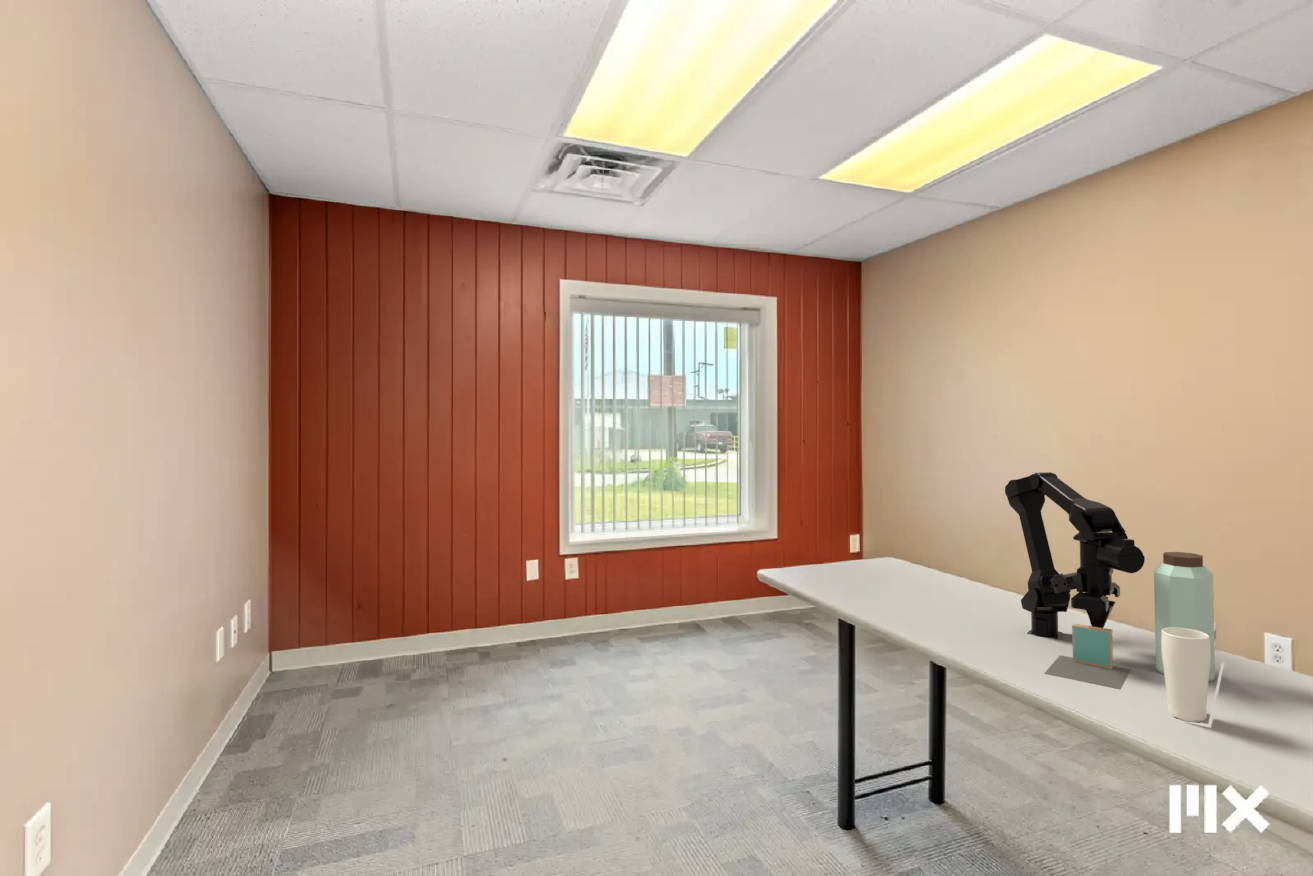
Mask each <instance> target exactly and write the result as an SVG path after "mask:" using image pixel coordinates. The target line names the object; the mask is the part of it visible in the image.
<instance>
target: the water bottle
mask: <svg viewBox="0 0 1313 876" xmlns="http://www.w3.org/2000/svg"><path fill="white" fill-rule="evenodd" d="M1162 556H1163V557H1162V559H1163V561H1162V563H1160V564H1159V565H1158V566H1156V568H1155V569H1154V571H1153V587H1154V589H1153V590H1154V591H1153V592H1154V594H1153V595H1154V637H1155V641H1154V642H1155V646H1154V647H1155V669H1156V671H1158V673H1161V674H1163V675H1164V669H1163V661H1162V652H1161V631H1162V629H1164V628H1170V627H1175V628H1186V629H1192V630H1197V631H1200V632H1203V633H1206V634H1207V635H1209V637H1210V650H1211V660H1210V673H1209V682H1213V681H1214V680H1215V679H1216V678H1215V677H1216V662H1215V661H1216V659H1215V657H1216V656H1215V653H1216V652H1215V648H1216V647H1215V613H1214V612H1215V610H1214V609H1215V608H1214V604H1215V603H1214V602H1215V601H1214V600H1215V599H1214V594H1215V593H1214V574H1213V573H1212V572H1211V571H1210V570H1209V569H1208V568H1207V567H1206V566H1205V565H1204V556H1203V555H1202V554H1197V553H1192V552H1183V551H1182V552H1181V551H1165V552H1164V551H1163V554H1162Z"/></svg>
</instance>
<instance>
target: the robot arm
mask: <svg viewBox="0 0 1313 876" xmlns="http://www.w3.org/2000/svg"><path fill="white" fill-rule="evenodd" d="M1004 493H1005V496H1006V497H1007V501H1008V505H1009V506H1010V508H1012V509H1013V510H1014V511H1015V513H1017V515H1018V516H1019V519H1020V520H1019V521H1020V525H1021V529H1022V533H1023V537H1024V541H1025V547H1026V550H1027V555H1028V559H1029V564H1030V568H1031V573H1030V576H1029V578H1028V581H1027V589H1028V591H1027V592H1026V593H1025V595H1023V596H1022V598H1021V599H1020V603H1021V607H1022V609H1023V610H1025V611H1027V612H1029V613H1030V619H1031V621H1030V622H1031V629H1030V630H1029V631H1027V633H1026V634H1027V635H1032V636H1036V637H1043V638H1049V639H1055V640H1056V639H1058V638H1059V637H1060V636H1061V635H1062V634H1063V632H1062V631H1059V613H1067V612H1068V607H1069V604H1070V605H1071V606H1070V607H1071V608H1073V609H1077V610H1084V611H1086V613H1087V616H1088V619H1089V623H1090V626H1093V627H1100V628H1104V627H1105V625H1106V623H1107V620H1108V619H1109V618H1110V615H1111V613H1112V611H1113V608H1114V607H1115V604H1116V601H1114V600H1109V597H1108V596H1111V595H1114V597H1115V598H1119V597H1120V596H1121V587H1120V585H1118V584H1117V582H1113V578H1112V577H1113V576H1112V575H1113V574H1114V570H1117V571H1120V572H1123V573H1127V574H1135V573H1137V572H1139V571H1140V570H1141V569H1142V568H1143V567H1144V564H1145V561H1146V558H1145V555H1144V553H1143V551H1142V549H1140V547H1137V546H1136V545H1135V539H1130V538H1129V537H1128V535H1127V533H1126V532H1127V531H1126V530H1125V528H1124V527H1123V526H1122V524H1121V522H1120V520H1119V518H1118V517H1117V515H1116V513H1115V511H1114V509H1112V508H1111V507H1109V506H1107V505H1106V504H1104V503H1101V502H1098V501H1095V500H1090V499H1087V498H1086V497H1084V496H1083V495H1082V494H1080V493H1079V492H1077V491H1076V490H1075V489H1073V488H1072V486H1069V485H1068V484H1066V483H1065V482H1064V481H1063V480H1062V479H1060V478H1059V477H1058V475H1057V474H1056V473H1054V472H1052V471H1049V472H1034V473H1032V474H1030V475H1029V476H1024V477H1021V478H1017V479H1011V480H1009V481H1008V482H1007V484H1006V485H1005V487H1004ZM1045 496H1046V497H1047V499H1048V498H1049V499H1050V500H1051V501H1052V502H1053V503H1054V504H1056V505H1057V506H1058V507H1060V508H1061V509H1062V510H1063V511H1064V512H1066V514H1067V515H1068V521H1069V523H1070V524H1071V525H1072V526H1073V527H1074V529H1076V530H1077V531H1078V533H1077V534H1075V535H1074V536H1073V540H1074V541H1079V565H1080V566H1079V567H1078V568H1077V569H1076V572H1071V573H1065V574H1064V573H1059V572H1058V571H1057V570H1056V568H1055V565H1054V561H1053V556H1052V551H1051V547H1050V544H1049V540H1048V536H1047V532H1046V531H1047V530H1046V527H1045V525H1044V524H1045V523H1044V519H1043V515H1042V509H1043V507H1044V504H1045V502H1046V497H1045ZM1072 590H1076V592H1077V593H1076V594H1074V595H1073V596H1072V597H1071V592H1072Z"/></svg>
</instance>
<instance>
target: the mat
mask: <svg viewBox="0 0 1313 876" xmlns="http://www.w3.org/2000/svg"><path fill="white" fill-rule="evenodd" d="M1131 670H1132V668H1131V667H1123V666H1118V665H1115V664H1113V668H1112V669H1108V668H1103V667H1097V666H1092V665H1087V664H1082V663H1077V662H1073V657H1071V656H1066V655H1062V654H1061V655H1059V656H1058V657H1057V658H1056V659H1055V661H1054V662H1053V663H1051V665H1050V666H1049V667H1048V668H1047V669H1046V670H1045V671H1044V673H1043V674H1044V675H1048V676H1053V677H1058V678H1059V677H1060V678H1064V679H1069V680H1073V681H1077V682H1083V683H1087V684H1090V685H1091V684H1092V685H1097V686H1102V687H1107V688H1111V689H1114V690H1115V689H1116V690H1121V688H1122V686H1123V685H1124V683H1125V681H1126V679H1127V678H1128V676H1129V674H1131V673H1130V672H1131Z"/></svg>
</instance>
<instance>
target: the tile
mask: <svg viewBox="0 0 1313 876" xmlns="http://www.w3.org/2000/svg"><path fill="white" fill-rule="evenodd" d="M1071 630H1072V631H1071V632H1072V634H1071V635H1072V636H1071V637H1072V640H1071V641H1072V658H1073V662H1077V663H1082V664H1087V665H1092V666H1097V667H1103V668H1108V669H1112V668H1113V665H1114V649H1113V648H1114V645H1113V644H1114V643H1113V642H1114V641H1113V638H1114V637H1113V629H1111V628H1100V627H1093V626H1091V625H1086V624H1079V623H1072V625H1071Z"/></svg>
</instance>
